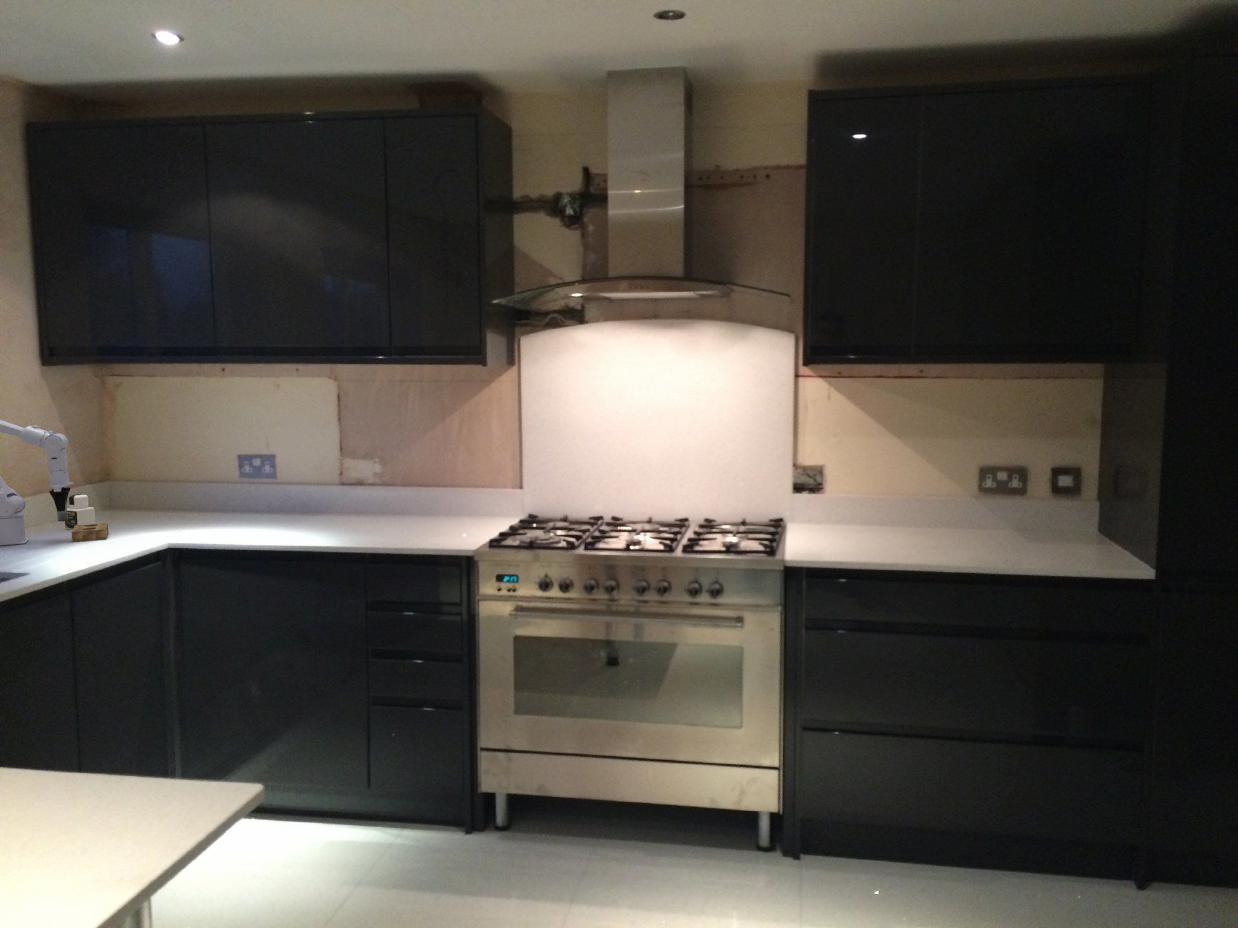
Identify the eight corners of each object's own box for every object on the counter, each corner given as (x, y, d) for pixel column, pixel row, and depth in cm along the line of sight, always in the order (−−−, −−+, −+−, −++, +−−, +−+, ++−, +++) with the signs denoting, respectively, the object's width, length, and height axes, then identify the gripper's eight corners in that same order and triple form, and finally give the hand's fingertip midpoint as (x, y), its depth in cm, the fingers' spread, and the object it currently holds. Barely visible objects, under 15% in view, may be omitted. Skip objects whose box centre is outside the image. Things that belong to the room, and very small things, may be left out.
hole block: (72, 542, 334) (71, 531, 333) (76, 535, 347) (75, 525, 346) (105, 539, 338) (105, 529, 337) (108, 532, 350) (107, 522, 350)
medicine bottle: (65, 528, 360) (62, 495, 358) (83, 525, 366) (81, 492, 364) (77, 530, 356) (75, 496, 355) (96, 526, 363) (93, 494, 361)
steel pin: (57, 521, 334) (55, 498, 333) (58, 520, 337) (56, 496, 336) (67, 520, 335) (65, 497, 334) (68, 519, 338) (66, 496, 337)
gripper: (69, 471, 329) (73, 512, 330) (74, 467, 342) (77, 506, 344) (45, 473, 326) (48, 514, 328) (50, 468, 339) (54, 508, 341)
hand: (61, 510), depth 336 cm, fingers closed on steel pin, 3 cm apart
